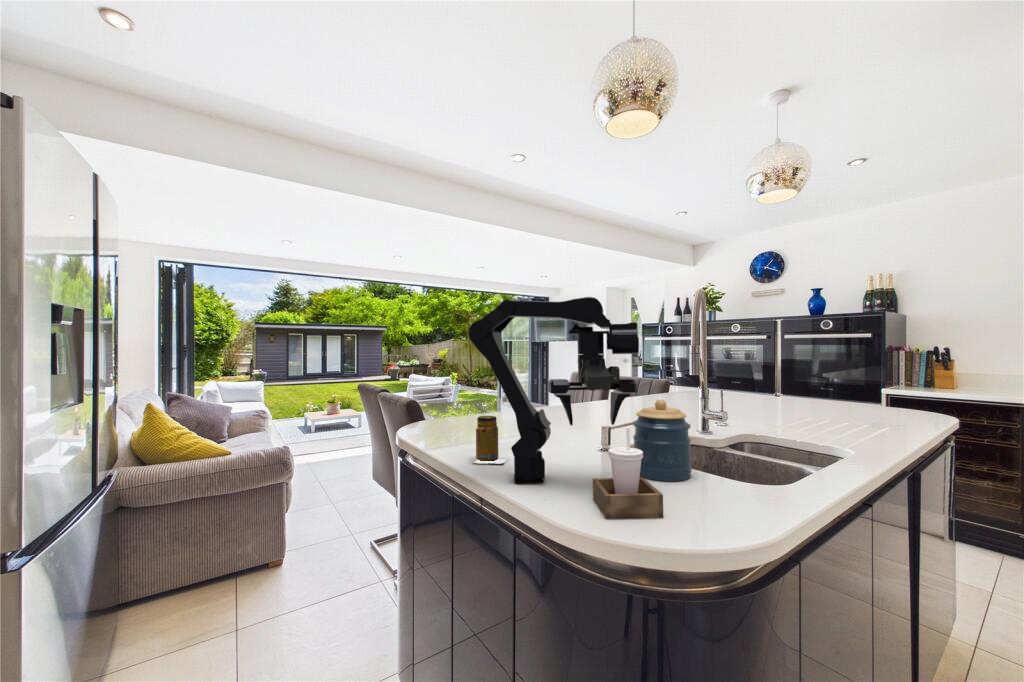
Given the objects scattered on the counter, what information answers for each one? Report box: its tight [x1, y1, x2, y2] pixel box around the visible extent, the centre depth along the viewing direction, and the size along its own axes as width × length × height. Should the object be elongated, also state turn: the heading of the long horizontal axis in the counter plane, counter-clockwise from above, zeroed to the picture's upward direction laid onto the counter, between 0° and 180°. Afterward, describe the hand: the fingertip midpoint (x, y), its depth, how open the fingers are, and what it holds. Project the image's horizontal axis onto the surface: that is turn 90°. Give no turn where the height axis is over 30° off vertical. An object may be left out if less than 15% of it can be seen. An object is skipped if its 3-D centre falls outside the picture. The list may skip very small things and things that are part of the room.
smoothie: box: [607, 427, 643, 494], centre depth 77 cm, size 6×6×14 cm
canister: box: [632, 399, 693, 482], centre depth 98 cm, size 13×13×18 cm
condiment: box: [475, 415, 499, 461], centre depth 111 cm, size 7×8×12 cm
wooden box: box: [592, 476, 665, 520], centre depth 77 cm, size 10×10×4 cm
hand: (591, 424), depth 91 cm, fingers open, 9 cm apart
